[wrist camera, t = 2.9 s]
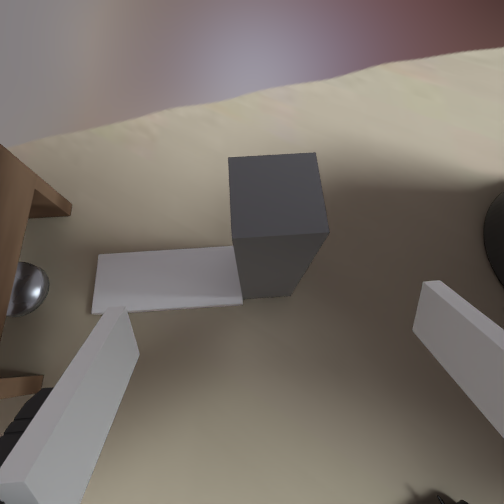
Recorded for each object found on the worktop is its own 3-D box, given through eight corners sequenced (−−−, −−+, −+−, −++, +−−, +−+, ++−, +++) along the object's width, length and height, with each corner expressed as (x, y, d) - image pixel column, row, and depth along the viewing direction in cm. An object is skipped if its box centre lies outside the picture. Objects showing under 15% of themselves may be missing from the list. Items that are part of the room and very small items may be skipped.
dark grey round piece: (56, 265, 25) (46, 261, 24) (44, 316, 24) (34, 315, 23) (6, 266, 25) (-6, 262, 24) (-9, 317, 24) (-22, 315, 23)
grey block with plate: (284, 245, 25) (313, 143, 13) (291, 301, 24) (331, 243, 12) (103, 257, 25) (-38, 163, 13) (96, 314, 23) (-74, 269, 11)
